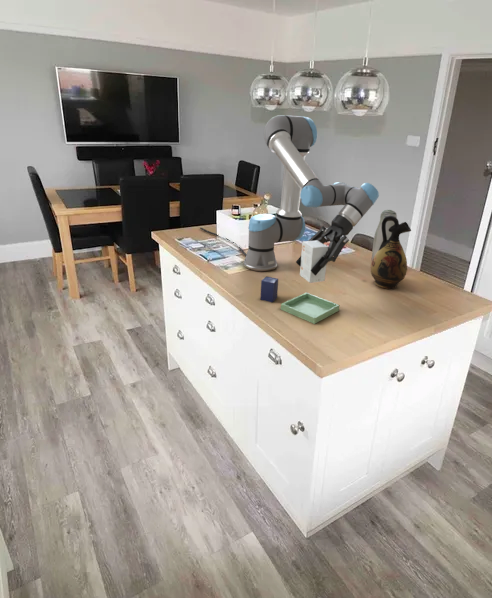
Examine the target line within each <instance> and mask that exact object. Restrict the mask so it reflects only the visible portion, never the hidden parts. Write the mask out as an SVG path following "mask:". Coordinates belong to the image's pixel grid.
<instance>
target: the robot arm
mask: <svg viewBox="0 0 492 598" xmlns="http://www.w3.org/2000/svg"><path fill="white" fill-rule="evenodd" d="M263 138H264V142H265V145H266V147H267V148H268V149H269V151H270V152H272V153H274V154H275V155H276V156H277V158H278V159H279V160H280V162H281V163H282V165H283V173H282V174H283V175H282V186H281V194H280V196H281V197H280V205H279V208H278V209H277V210H276V213H275V214H272V213H259V214H255V215H253V216H251V217H250V219H249V221H248V249H247V252H245V251H244V250H243V249H242V247H241V246H240V247H241V248H240V247H238V249H239V251H240V252H241V253H242V254H243V255H244V257H245V258H244V259H243V266H244V268H246V269H248V270H250V271H253V272H271V271H275V270H276V269H277V267H278V260H277V259H276V253H275V244H278V243H286V242H294V241H299V240H300V239H301V238H302V237H303V236H304V234H305V232H306V222H305V218H304V216H303V214H302V212H301V211H300V203H301V204H302V205H303V206H304V207H306V208H320V207H333V206H334V207H335V206H343V207H342V208H341V209H340V210H339V212H338V214H336V215H335V217H334V218H333V219H332V220H331V222H330V223H331V224H330V225H329V226H328V227H325V226H324V225H322V226H321V227H320V229H319V230H317V232H316V233H314V235H312V237H310V238H309V239H308V240H307V241H315V240H318V241H319V242H321V243H323V244H324V245H325V243H328V242H329V244H328V251H327V252H326V254H325V255H324V257H325V258H324V257H323V256H322V257H321V259H320V260H319V261H318V262H317V263H316V265H315V266H314V267H313V268H312V269H311V272H312V273H313V274H314V275H315V276H316V275H317V274H318V272H319V271H320V270H321V269H322V268H324V266H325V265H326V266H327V264H328V263H330V262H332V263H334V262H336V261H337V259H338V257H339V256H340V254H341V252H342V251H343V249H344V247H345V246H346V245H347V244H348V243H349V241H350V239H349V238H348V236H349V234H350V232H352V230H353V229H354V227H355V226H357V224H358V223H359V222H360V220H361V219H362V218H363V217H364V216H365V214H367V213H368V211H369V210H370V209H371V208H372V206H374V204H375V203H376V202H377V200H378V199H379V197H380V192H379V191H378V188H377V187H376V186H374V185H373V184H372V183H370V182H364V183H362V185H360V187H357V186H354V185H350V184H347V183H345V182H339V181H337V182H334V183H332V184H323V183H322V181H321V180H320V179H319V178H318V175H316V173H315V172H314V170H313V169H312V168H311V166H310V165H309V163H308V162H307V161H306V156H307V155H309V153H310V151H311V150H310V149H311V148H312V147H313V146H314V145H315V144H316V142H317V139H318V129H317V125H316V124H315V121H314V120H313V119H312V118H310V117H307V116H302V115H284V114H278V115H277V114H276V115H275V116H273V117H271V118H270V119H269V120H268V121H267V122H266V124H265V126H264V129H263ZM199 229H200V230H201V231H204V232H206V233H208V234H211V235H212V236H216V237H218V236H217V234H218V233H215V232H212V231H209V230H207V229H205V228H203V227H199ZM295 263H296V264H297V266H298V267H300V266H301V255H300V256H299V257H298V259H297V260H296V261H295Z"/></svg>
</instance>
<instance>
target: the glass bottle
mask: <svg viewBox="0 0 492 598" xmlns="http://www.w3.org/2000/svg"><path fill="white" fill-rule="evenodd" d="M387 216H394V217H396V218H397V219H398V215H397V212H396V211H395V210H392V209H385V210H383V211H382V212H381V213H380V217H379V221H378V225H377V227H376V230H375V231H374V236H373V244H372V250H371V261H372V260H373V258H374V256H375V254H376V253H377V251H378V250H379V248H380V245H381V244H382V242H383V236H382V228H381V227H382V221H383V219H384V218H385V217H387ZM393 225H394V222H393V221H387V222H386V235H387V240H388V239H389V238H390V236H391V234H392V233H391V232H389V228H390V227H391V226H393Z"/></svg>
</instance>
